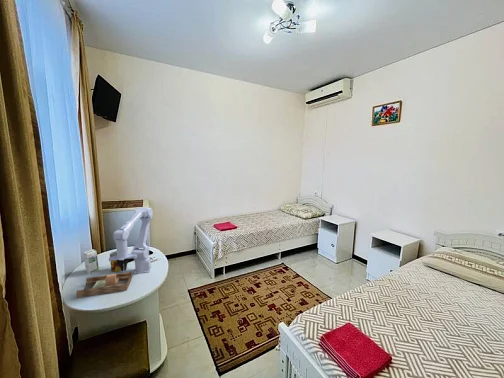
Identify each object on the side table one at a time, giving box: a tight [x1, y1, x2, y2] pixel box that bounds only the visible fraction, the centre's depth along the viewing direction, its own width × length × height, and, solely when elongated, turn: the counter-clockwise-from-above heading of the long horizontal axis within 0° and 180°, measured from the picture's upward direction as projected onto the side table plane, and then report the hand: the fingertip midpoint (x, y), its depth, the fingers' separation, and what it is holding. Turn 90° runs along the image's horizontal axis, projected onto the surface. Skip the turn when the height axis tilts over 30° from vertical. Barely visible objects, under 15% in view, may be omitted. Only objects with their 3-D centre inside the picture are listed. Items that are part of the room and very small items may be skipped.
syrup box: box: [83, 249, 100, 275], centre depth 148 cm, size 6×6×14 cm
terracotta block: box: [105, 273, 117, 286], centre depth 132 cm, size 4×4×4 cm
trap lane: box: [75, 271, 133, 299], centre depth 131 cm, size 25×14×4 cm, turn 107°
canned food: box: [109, 250, 124, 273], centre depth 151 cm, size 8×8×12 cm
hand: (124, 270), depth 133 cm, fingers closed
